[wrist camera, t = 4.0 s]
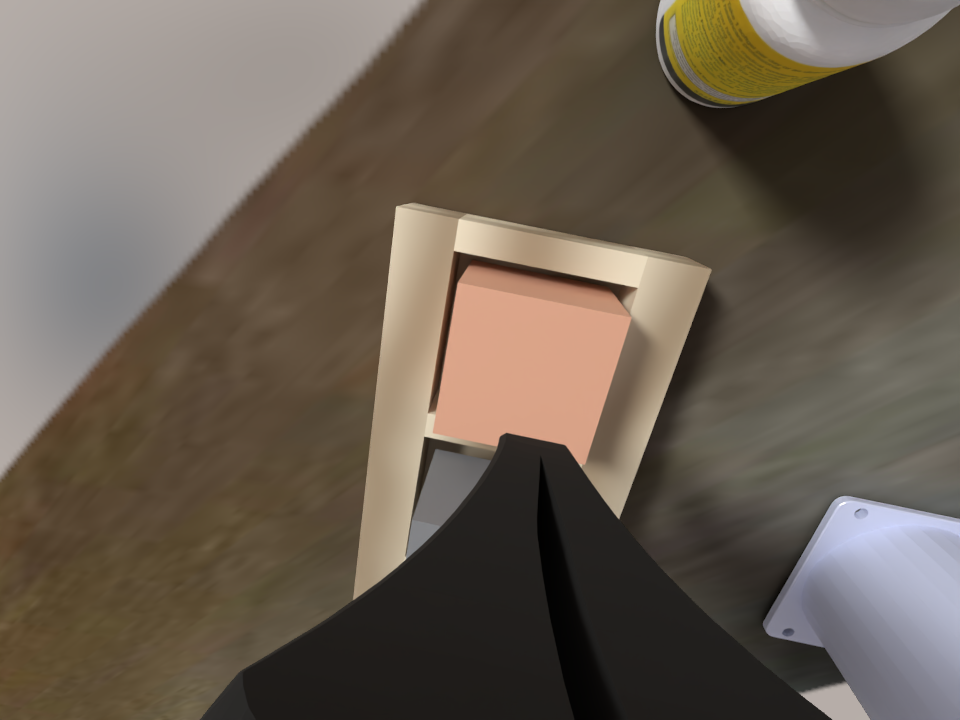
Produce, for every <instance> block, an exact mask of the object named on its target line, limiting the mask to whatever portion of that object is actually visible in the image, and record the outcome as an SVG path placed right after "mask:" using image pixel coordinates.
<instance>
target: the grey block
mask: <svg viewBox="0 0 960 720" xmlns="http://www.w3.org/2000/svg"><path fill="white" fill-rule="evenodd" d="M490 462H491V460H486V459H482V458H477V457H472V456H467V455H463V454H458V453H453V452H448V451H443V450H439V449H435V452H434V455H433V459H432V462H431V465H430V468H429V471H428V474H427V477H426V480H425V483H424V486H423V489H422V492H421V495H420V498H419V501H418V504H417V507H416V510H415V513H414V516H413V519H412V524H411V530H410V536H409V542H408V548H407V555H406V559H407V558H408V557H409V556H410V555H411V554H413V553H414V552H415V551H416V550H417V549H418V548H419V547H421V546H422V545H423V544H424V543H425V542H426V541H427V540H428V539H429V538H430V537H431V536H432V535H433V534H434V533H435V532H436V531H437V530H438V529H439V528H440V527H441V526H442V525H443V524H444V523H445V522H446V520H447V519H448V518H449V517H450V516H451V515H452V514H453V513H454V512H455V510H456V509H457V508H458V507H459V505H460V504H461V503H462V502H463V500H464V499H465V498H466V497H467V495H468V494H469V493H470V492H471V490H472V489H473V488H474V486H475V485H476V484H477V482H478V481H479V479H480V478H481V476H482V474H483V473H484V471H485V470H486V468H487V467H488V465H489V464H490Z"/></svg>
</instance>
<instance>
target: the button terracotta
mask: <svg viewBox="0 0 960 720" xmlns="http://www.w3.org/2000/svg"><path fill="white" fill-rule="evenodd" d="M631 319H632V317H631V316H630V315H629V313H628V312H627V311H626V309H625V308H624V307H623V305H622V304H621V303H620V302H619V300H618V299H617V298H616V296H615V295H614V294H613V292H612V291H611V290H610V288H609V287H606V286H601V285H596V284H591V283H586V282H581V281H576V280H571V279H566V278H561V277H556V276H551V275H546V274H541V273H536V272H531V271H526V270H521V269H516V268H511V267H506V266H501V265H497V264H492V263H487V262H482V261H477V260H472V261H471V263H470V264H469V266H468V268H467V269H466V271H465V272H464V274H463V275H462V277H461V278H460V280H459V281H458V284H457V290H456V296H455V302H454V308H453V314H452V320H451V326H450V332H449V338H448V344H447V350H446V356H445V362H444V368H443V374H442V380H441V386H440V392H439V398H438V404H437V410H436V416H435V422H434V428H433V433H434V434H439V435H444V436H449V437H454V438H458V439H463V440H468V441H473V442H478V443H482V444H487V445H492V446H498V442H499V438H500V436H501V435H503V434H505V433H510V434H515V435H520V436H525V437H529V438H534V439H539V440H544V441H549V442H553V443H558V444H563V445H566V446H567V448H568V449H569V451H570V452H571V453H572V455H573V456H574V458H575V459H576V461H577V462H578V464H583V465H585V463H586V460H587V457H588V454H589V451H590V447H591V444H592V441H593V438H594V435H595V432H596V429H597V425H598V422H599V419H600V416H601V413H602V410H603V407H604V404H605V400H606V397H607V394H608V391H609V388H610V385H611V382H612V378H613V375H614V372H615V369H616V366H617V363H618V360H619V356H620V353H621V350H622V347H623V344H624V341H625V338H626V335H627V331H628V328H629V325H630V322H631Z"/></svg>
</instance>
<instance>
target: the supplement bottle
mask: <svg viewBox="0 0 960 720" xmlns="http://www.w3.org/2000/svg"><path fill="white" fill-rule="evenodd" d="M958 5H960V0H661V1H660V5H659V9H658V15H657V22H656V43H657V51H658V56H659V60H660V63H661V66H662V69H663V71H664V73H665V75H666V77H667V78H668V80H669V81H670V83H671V84H672V85H673V86H674V88H675V89H676V90H677V91H678V92H680V93H681V94H682V95H683V96H685V97H686V98H688V99H689V100H691V101H693V102H696V103H698V104H701V105H704V106H708V107H714V108H731V107H738V106H743V105H748V104H752V103H755V102H757V101H760V100H762V99H765V98H768V97H770V96H773V95H776V94H779V93H782V92H785V91H787V90H790V89H793V88H796V87H799V86H801V85H804V84H807V83H810V82H812V81H815V80H818V79H821V78H824V77H827V76H830V75H832V74H835V73H838V72H841V71H844V70H846V69H849V68H852V67H855V66H858V65H861V64H864V63H867V62H869V61H872V60H875V59H877V58H880V57H882V56H884V55H886V54H888V53H890V52H892V51H894V50H896V49H898V48H900V47H902V46H904V45H905V44H907V43H909V42H910V41H912V40H914V39H915V38H917V37H918V36H920V35H921V34H922V33H924V32H925V31H927V30H928V29H929V28H931V27H932V26H933V25H934V24H936V23H937V22H938V21H939V20H940V19H942V18H943V17H944V16H945V15H946V14H947V13H948V12H949V11H950V10H951V9H952V8H954V7H956V6H958Z"/></svg>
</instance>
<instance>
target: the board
mask: <svg viewBox="0 0 960 720" xmlns="http://www.w3.org/2000/svg"><path fill="white" fill-rule="evenodd" d="M472 260H477V261H482V262H487V263H492V264H497V265H501V266H506V267H511V268H516V269H521V270H526V271H531V272H536V273H541V274H546V275H551V276H556V277H561V278H566V279H571V280H576V281H581V282H586V283H591V284H596V285H601V286H606V287H609V288H610V290H611V291H612V292H613V294H614V295H615V296H616V298H617V299H618V300H619V302H620V303H621V304H622V305H623V307H624V308H625V309H626V311H627V312H628V313H629V315H630V316H631V317H632V319H631V322H630V325H629V328H628V331H627V335H626V338H625V341H624V344H623V347H622V350H621V353H620V356H619V360H618V363H617V366H616V369H615V372H614V375H613V378H612V382H611V385H610V388H609V391H608V394H607V397H606V400H605V404H604V407H603V410H602V413H601V416H600V419H599V422H598V425H597V429H596V432H595V435H594V438H593V441H592V444H591V447H590V451H589V454H588V457H587V460H586V463H585V465H583V464H579V465H580V467H581V468H582V470H583V471H584V473H585V474H586V475H587V477H588V478H589V480H590V481H591V483H592V484H593V485H594V487H595V488H596V490H597V491H598V492H599V494H600V495H601V497H602V498H603V499H604V501H605V502H606V503H607V505H608V506H609V507H610V509H611V510H612V511H613V512H614V514H615V515H616V516H617V518H618V519H619V518H620V515H621V513H622V510H623V507H624V505H625V502H626V499H627V497H628V494H629V491H630V489H631V486H632V483H633V480H634V478H635V475H636V472H637V470H638V467H639V464H640V462H641V459H642V456H643V453H644V451H645V448H646V445H647V443H648V440H649V437H650V435H651V432H652V429H653V427H654V424H655V421H656V418H657V416H658V413H659V410H660V408H661V405H662V402H663V400H664V397H665V394H666V391H667V389H668V386H669V383H670V381H671V378H672V375H673V373H674V370H675V367H676V365H677V362H678V359H679V356H680V354H681V351H682V348H683V346H684V343H685V340H686V338H687V335H688V332H689V329H690V327H691V324H692V321H693V319H694V316H695V313H696V311H697V308H698V305H699V303H700V300H701V297H702V294H703V292H704V289H705V286H706V284H707V281H708V278H709V276H710V273H711V270H712V269H710V268H708V267H706V266H704V265H702V264H700V263H698V262H696V261H693V260H691V259H689V258H687V257H683V256H678V255H673V254H668V253H663V252H658V251H653V250H648V249H643V248H638V247H633V246H628V245H623V244H618V243H613V242H608V241H603V240H598V239H593V238H588V237H583V236H578V235H573V234H568V233H563V232H558V231H553V230H548V229H543V228H538V227H533V226H527V225H522V224H517V223H512V222H507V221H502V220H497V219H492V218H487V217H482V216H477V215H472V214H467V213H462V212H457V211H452V210H447V209H442V208H437V207H432V206H427V205H422V204H417V203H410V204H405V205H401V206H396V214H395V224H394V233H393V242H392V251H391V260H390V269H389V278H388V287H387V296H386V305H385V315H384V324H383V333H382V342H381V351H380V360H379V369H378V378H377V387H376V396H375V406H374V415H373V424H372V433H371V442H370V451H369V460H368V469H367V478H366V487H365V497H364V506H363V515H362V524H361V533H360V542H359V551H358V560H357V569H356V578H355V588H354V597H353V600H354V599H356V598H357V597H359V596H360V595H361V594H363V593H364V592H365V591H367V590H368V589H370V588H371V587H372V586H374V585H375V584H377V583H378V582H379V581H381V580H382V579H383V578H384V577H386V576H387V575H388V574H389V573H391V572H392V571H393V570H394V569H395V568H397V567H398V566H399V565H400V564H401V563H402V562H404V561H405V560H406V555H407V548H408V542H409V536H410V530H411V524H412V519H413V516H414V513H415V510H416V507H417V504H418V501H419V498H420V495H421V492H422V489H423V486H424V483H425V480H426V477H427V474H428V471H429V468H430V465H431V462H432V459H433V455H434V452H435V449H439V450H443V451H448V452H453V453H458V454H463V455H467V456H472V457H477V458H482V459H486V460H492V458H493V456H494V454H495V452H496V450H497V446H492V445H487V444H482V443H478V442H473V441H468V440H463V439H458V438H454V437H449V436H444V435H439V434H434V433H433V428H434V422H435V416H436V410H437V404H438V398H439V392H440V386H441V380H442V374H443V368H444V362H445V356H446V350H447V344H448V338H449V332H450V326H451V320H452V314H453V308H454V302H455V296H456V290H457V284H458V281H459V280H460V278H461V277H462V275H463V274H464V272H465V271H466V269H467V268H468V266H469V264H470V263H471V261H472Z"/></svg>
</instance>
